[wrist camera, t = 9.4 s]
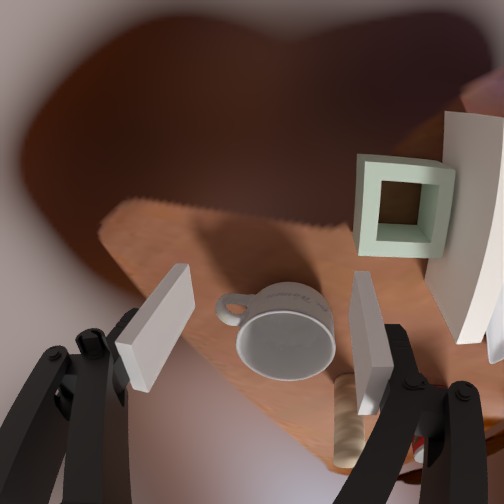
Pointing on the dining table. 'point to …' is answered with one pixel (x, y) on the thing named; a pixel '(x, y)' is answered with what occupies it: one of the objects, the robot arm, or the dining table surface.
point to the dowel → (347, 423)
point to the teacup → (282, 330)
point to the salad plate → (496, 331)
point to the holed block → (430, 210)
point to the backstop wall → (471, 226)
